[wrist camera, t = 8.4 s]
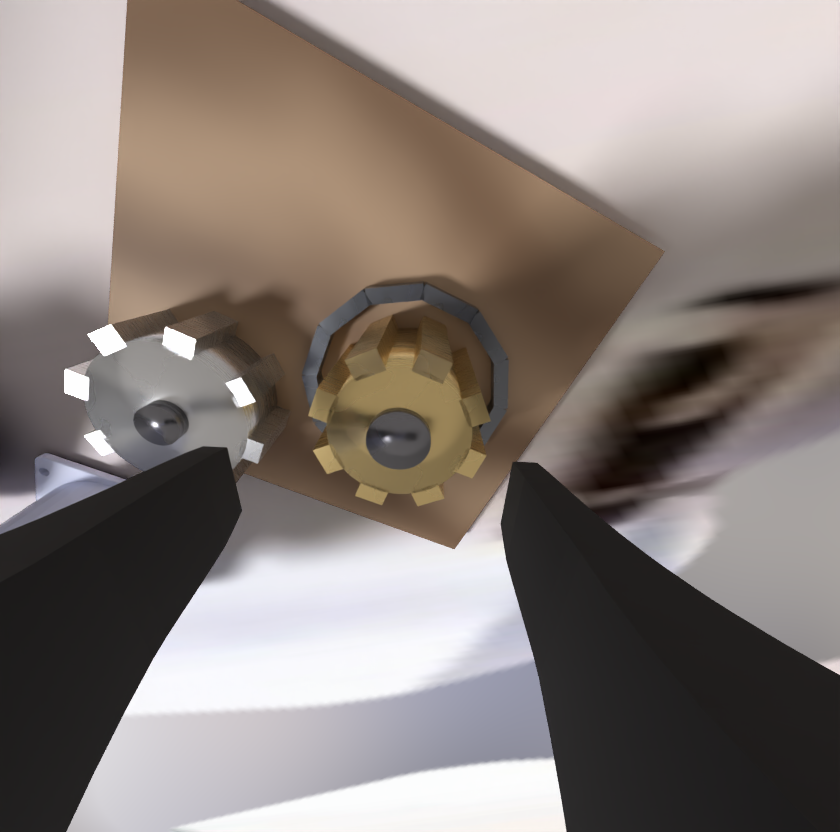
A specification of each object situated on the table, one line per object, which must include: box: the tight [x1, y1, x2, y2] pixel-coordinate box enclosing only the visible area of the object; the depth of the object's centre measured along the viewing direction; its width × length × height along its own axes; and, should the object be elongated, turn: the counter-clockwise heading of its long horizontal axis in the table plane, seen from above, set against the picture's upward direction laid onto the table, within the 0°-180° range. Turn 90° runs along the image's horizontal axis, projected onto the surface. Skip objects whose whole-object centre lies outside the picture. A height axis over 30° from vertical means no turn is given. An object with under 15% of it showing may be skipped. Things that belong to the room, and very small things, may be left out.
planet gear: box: [308, 315, 491, 506], centre depth 13 cm, size 6×6×5 cm
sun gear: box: [65, 309, 290, 483], centre depth 14 cm, size 7×7×4 cm
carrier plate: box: [108, 0, 665, 549], centre depth 16 cm, size 17×19×1 cm
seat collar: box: [302, 281, 509, 446], centre depth 15 cm, size 9×9×1 cm
